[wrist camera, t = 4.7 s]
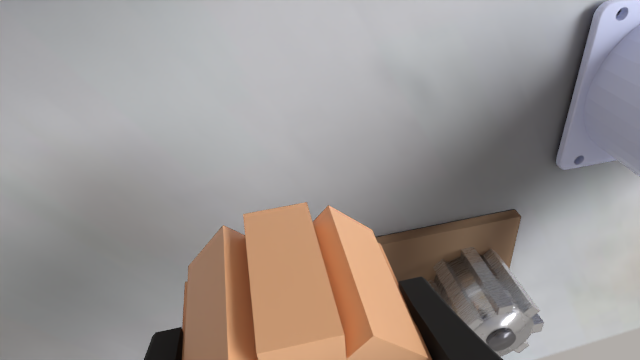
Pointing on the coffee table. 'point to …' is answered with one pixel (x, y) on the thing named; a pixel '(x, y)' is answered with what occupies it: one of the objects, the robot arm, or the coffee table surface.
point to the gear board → (449, 243)
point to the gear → (488, 299)
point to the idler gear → (296, 293)
